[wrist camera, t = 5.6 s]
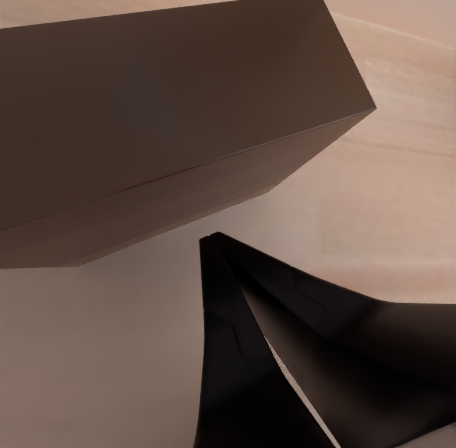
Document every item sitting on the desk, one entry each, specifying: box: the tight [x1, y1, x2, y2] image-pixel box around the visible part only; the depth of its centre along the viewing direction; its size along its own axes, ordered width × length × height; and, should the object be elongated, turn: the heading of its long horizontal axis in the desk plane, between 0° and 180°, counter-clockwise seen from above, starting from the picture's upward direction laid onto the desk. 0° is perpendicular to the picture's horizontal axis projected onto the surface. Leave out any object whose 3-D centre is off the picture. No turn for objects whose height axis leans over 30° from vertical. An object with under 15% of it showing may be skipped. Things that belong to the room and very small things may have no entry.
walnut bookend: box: [0, 0, 377, 269], centre depth 12 cm, size 12×14×10 cm
